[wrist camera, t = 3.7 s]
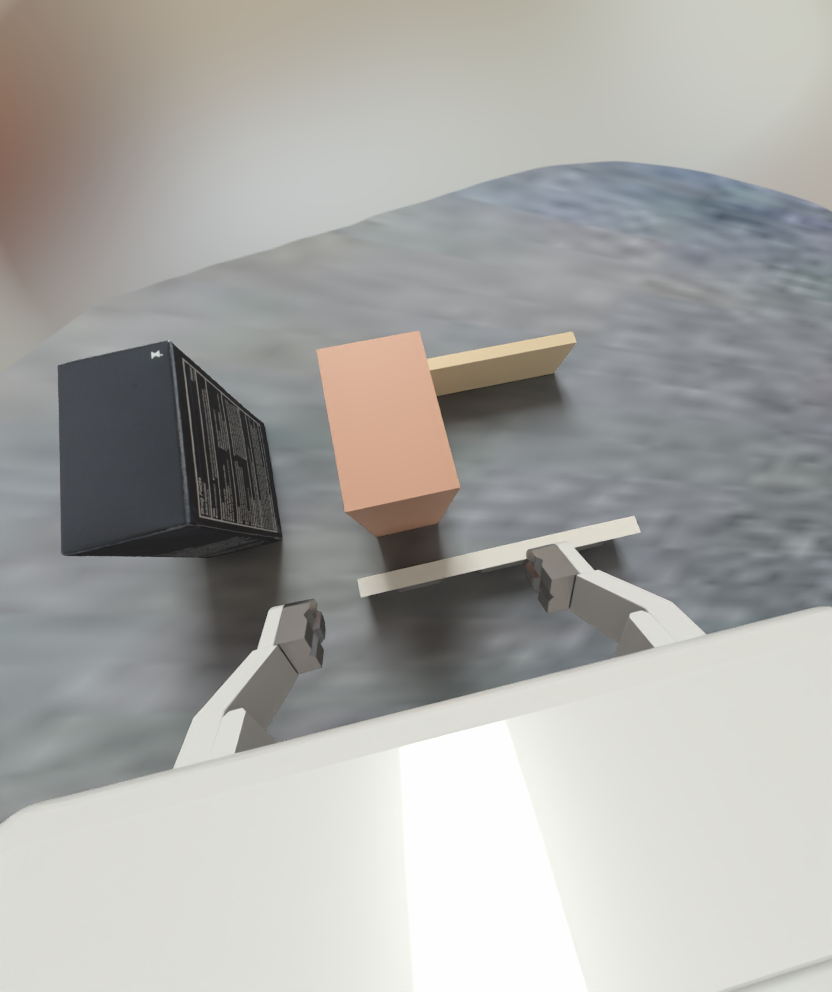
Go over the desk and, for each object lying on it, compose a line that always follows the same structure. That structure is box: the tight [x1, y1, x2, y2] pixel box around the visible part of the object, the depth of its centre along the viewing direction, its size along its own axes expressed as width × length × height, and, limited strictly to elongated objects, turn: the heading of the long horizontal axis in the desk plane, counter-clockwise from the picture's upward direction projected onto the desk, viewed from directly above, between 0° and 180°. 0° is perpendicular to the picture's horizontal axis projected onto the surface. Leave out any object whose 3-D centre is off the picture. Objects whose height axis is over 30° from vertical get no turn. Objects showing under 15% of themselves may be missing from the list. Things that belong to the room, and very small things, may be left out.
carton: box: [317, 331, 460, 537], centre depth 20 cm, size 5×8×12 cm, turn 13°
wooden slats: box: [358, 332, 640, 597], centre depth 24 cm, size 20×16×4 cm
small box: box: [58, 340, 282, 558], centre depth 20 cm, size 11×6×10 cm, turn 14°
